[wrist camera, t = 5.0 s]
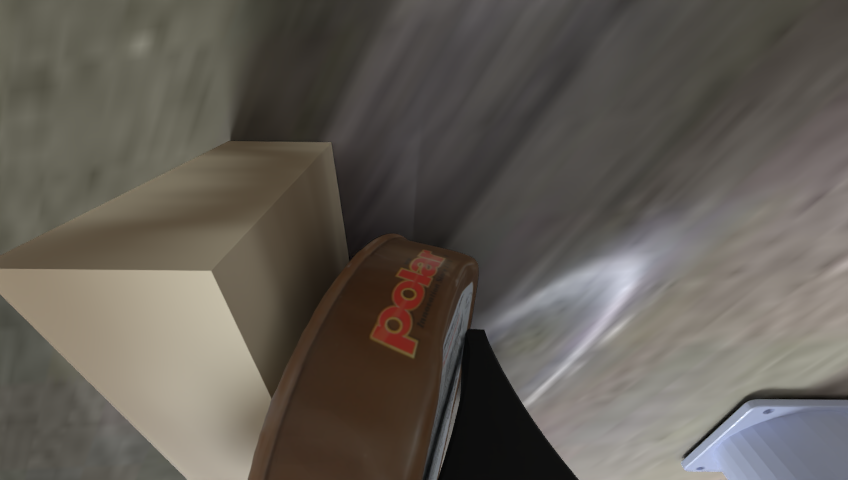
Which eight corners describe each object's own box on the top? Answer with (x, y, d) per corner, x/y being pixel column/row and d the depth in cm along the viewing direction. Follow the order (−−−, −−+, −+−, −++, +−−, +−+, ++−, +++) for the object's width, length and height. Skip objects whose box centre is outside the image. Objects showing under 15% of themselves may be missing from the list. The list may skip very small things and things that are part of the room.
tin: (415, 186, 10) (92, 468, 3) (514, 207, 9) (360, 668, 2) (404, 426, 18) (308, 648, 11) (455, 450, 17) (384, 706, 10)
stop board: (331, 142, 9) (210, 270, 4) (382, 477, 22) (369, 606, 17) (229, 141, 9) (-27, 268, 4) (340, 477, 22) (316, 606, 17)
